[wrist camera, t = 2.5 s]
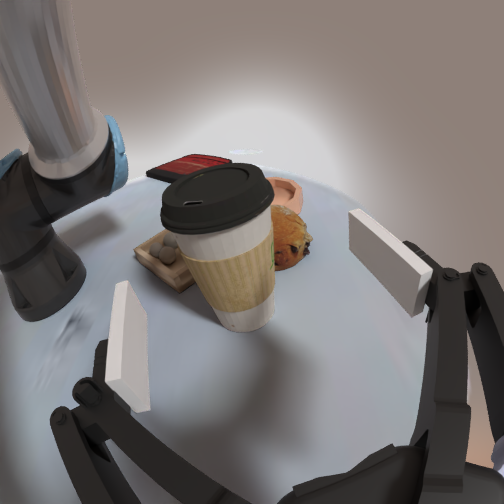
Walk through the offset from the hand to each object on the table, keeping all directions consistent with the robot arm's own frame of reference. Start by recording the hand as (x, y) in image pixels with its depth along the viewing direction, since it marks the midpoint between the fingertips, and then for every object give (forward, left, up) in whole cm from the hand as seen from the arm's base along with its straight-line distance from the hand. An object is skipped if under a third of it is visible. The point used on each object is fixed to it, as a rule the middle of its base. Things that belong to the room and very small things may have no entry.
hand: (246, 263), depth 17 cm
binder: (-58, +31, -14) cm, 67 cm away
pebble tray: (-24, +6, -14) cm, 28 cm away
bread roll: (-14, +15, -14) cm, 25 cm away
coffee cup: (-9, +5, -14) cm, 17 cm away
